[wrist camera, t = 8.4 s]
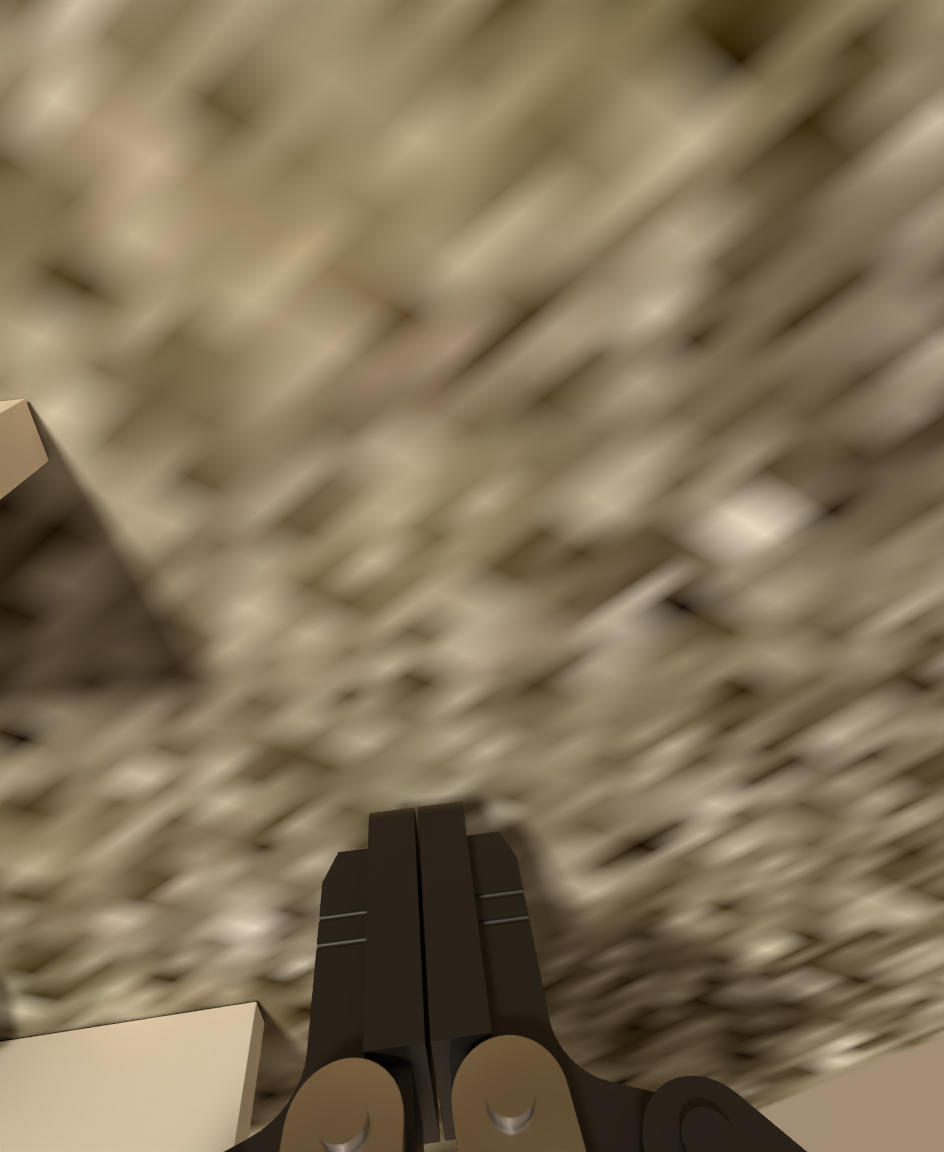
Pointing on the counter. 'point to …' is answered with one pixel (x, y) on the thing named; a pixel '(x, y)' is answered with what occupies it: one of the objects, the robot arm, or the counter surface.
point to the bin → (124, 1028)
